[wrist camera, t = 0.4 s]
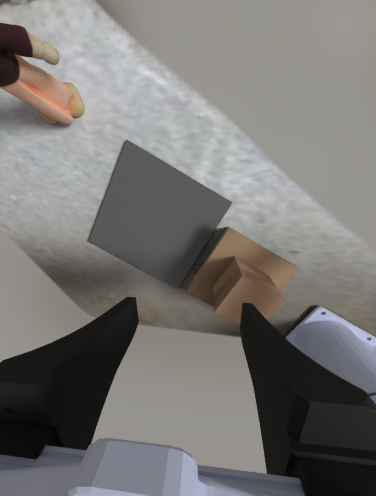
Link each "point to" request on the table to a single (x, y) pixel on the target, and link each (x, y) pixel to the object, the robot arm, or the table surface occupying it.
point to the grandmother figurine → (36, 76)
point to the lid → (241, 277)
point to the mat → (156, 216)
